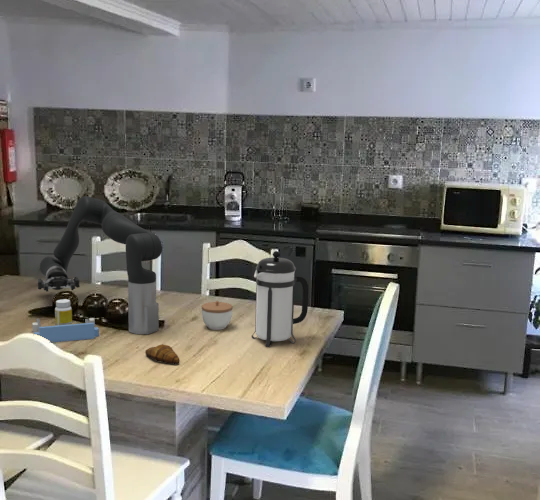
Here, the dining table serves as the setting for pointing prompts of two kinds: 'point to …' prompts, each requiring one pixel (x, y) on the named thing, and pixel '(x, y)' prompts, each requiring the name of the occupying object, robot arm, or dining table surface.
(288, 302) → the coffee press
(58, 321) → the supplement bottle
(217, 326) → the lidded jar
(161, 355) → the croissant
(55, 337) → the blue pegged rail
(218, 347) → the dining table surface
